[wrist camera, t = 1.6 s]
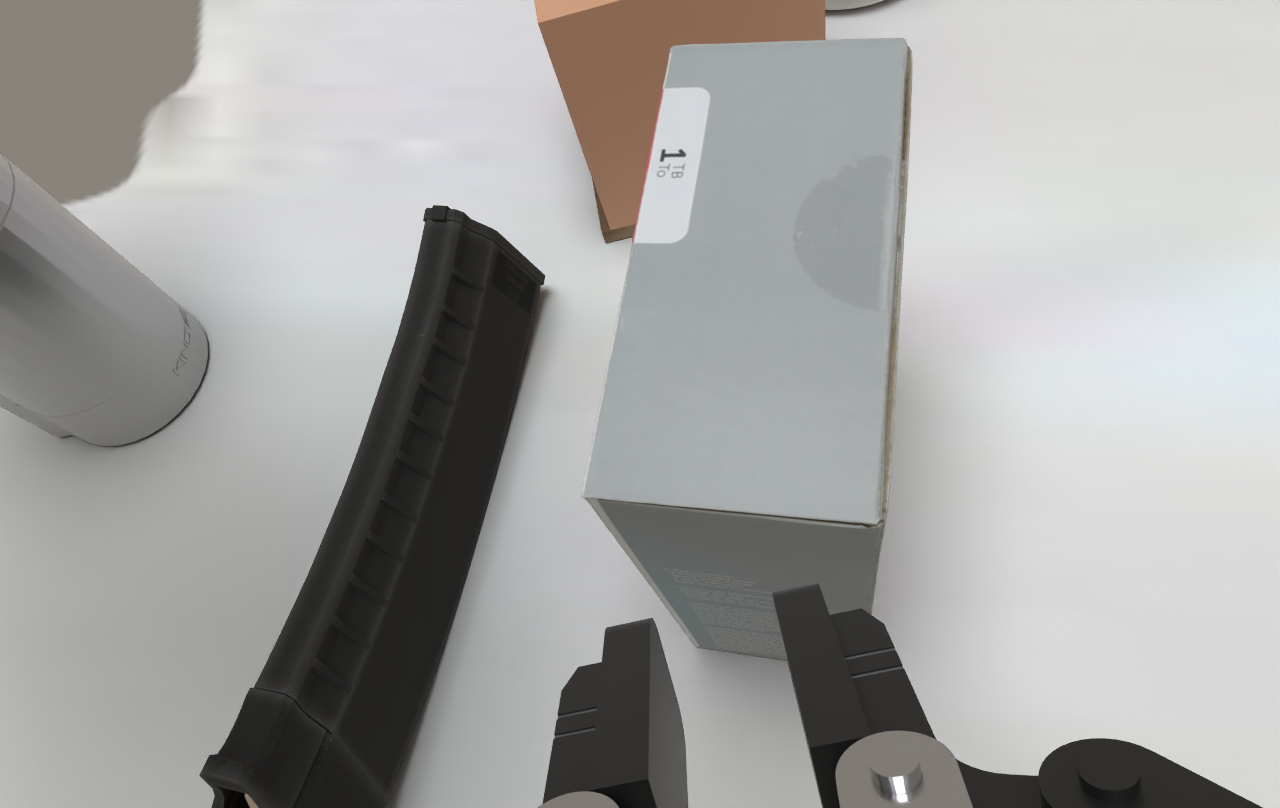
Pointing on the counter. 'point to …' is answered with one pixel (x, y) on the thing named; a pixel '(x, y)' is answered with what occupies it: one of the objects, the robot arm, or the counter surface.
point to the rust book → (644, 70)
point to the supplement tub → (848, 4)
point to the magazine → (392, 539)
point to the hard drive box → (760, 335)
